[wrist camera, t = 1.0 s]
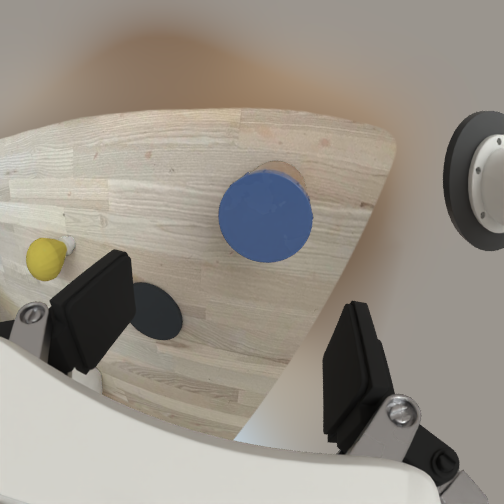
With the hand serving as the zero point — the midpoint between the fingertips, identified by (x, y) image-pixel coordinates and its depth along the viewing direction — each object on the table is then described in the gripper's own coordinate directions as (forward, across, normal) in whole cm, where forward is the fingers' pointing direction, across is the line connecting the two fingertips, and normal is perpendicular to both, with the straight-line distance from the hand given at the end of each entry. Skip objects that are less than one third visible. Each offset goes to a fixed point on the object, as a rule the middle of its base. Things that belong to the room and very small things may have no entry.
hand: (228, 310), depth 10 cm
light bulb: (+22, +32, +13) cm, 41 cm away
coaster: (+22, +16, +22) cm, 35 cm away
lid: (+11, 0, 0) cm, 11 cm away
